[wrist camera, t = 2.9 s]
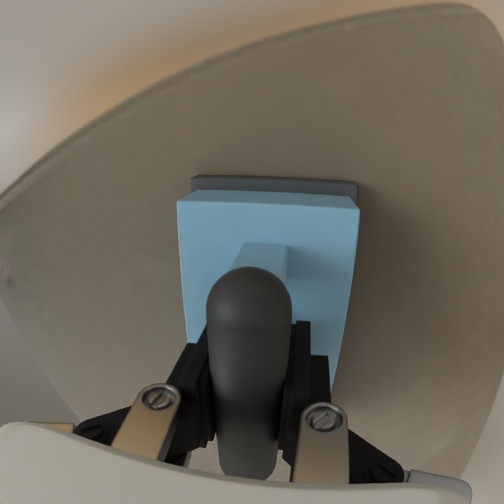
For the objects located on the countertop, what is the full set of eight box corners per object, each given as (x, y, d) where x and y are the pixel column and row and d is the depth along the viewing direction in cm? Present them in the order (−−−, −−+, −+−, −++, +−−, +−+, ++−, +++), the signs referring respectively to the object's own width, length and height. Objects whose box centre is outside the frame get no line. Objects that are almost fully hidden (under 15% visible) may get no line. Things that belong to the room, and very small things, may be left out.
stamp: (197, 174, 14) (92, 220, 7) (354, 181, 13) (415, 237, 6) (210, 402, 19) (173, 506, 12) (320, 412, 18) (317, 525, 11)
